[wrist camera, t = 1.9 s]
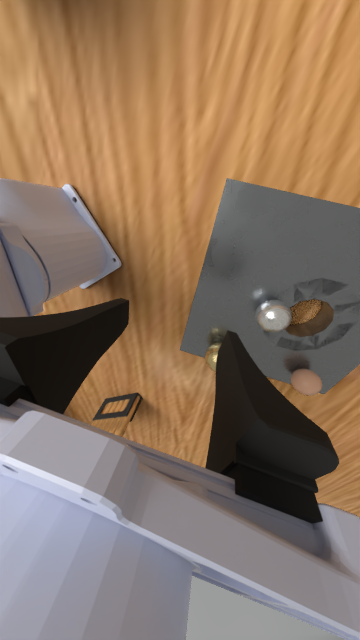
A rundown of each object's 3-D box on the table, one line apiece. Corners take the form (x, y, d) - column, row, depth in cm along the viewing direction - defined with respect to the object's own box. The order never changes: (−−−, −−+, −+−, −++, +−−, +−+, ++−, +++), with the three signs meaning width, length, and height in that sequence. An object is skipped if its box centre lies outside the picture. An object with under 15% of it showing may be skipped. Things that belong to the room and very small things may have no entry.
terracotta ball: (284, 365, 21) (293, 385, 19) (312, 361, 20) (325, 381, 17) (289, 381, 22) (298, 402, 20) (316, 377, 21) (329, 399, 19)
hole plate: (183, 339, 26) (179, 349, 24) (226, 183, 15) (226, 178, 13) (315, 379, 24) (323, 394, 22) (463, 237, 14) (506, 241, 12)
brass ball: (201, 340, 22) (198, 360, 19) (228, 333, 20) (229, 353, 17) (212, 360, 23) (210, 381, 20) (238, 354, 22) (240, 376, 19)
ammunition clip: (137, 392, 36) (105, 459, 26) (142, 397, 37) (113, 465, 27) (105, 398, 41) (67, 458, 31) (110, 403, 41) (74, 462, 31)
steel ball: (248, 301, 18) (253, 316, 15) (282, 290, 17) (293, 304, 14) (257, 324, 19) (263, 342, 16) (289, 316, 18) (300, 333, 15)
